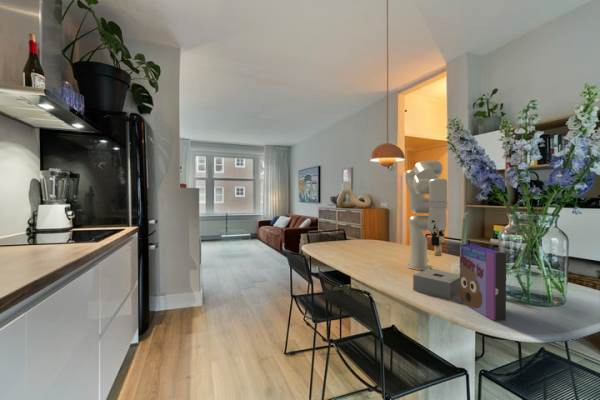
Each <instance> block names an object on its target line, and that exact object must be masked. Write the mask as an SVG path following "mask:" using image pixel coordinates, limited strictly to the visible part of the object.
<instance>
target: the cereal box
mask: <svg viewBox="0 0 600 400" xmlns="http://www.w3.org/2000/svg"><path fill="white" fill-rule="evenodd" d="M459 275H460V293H459V303H461V304H463V305H465V306H466V307H468V308H469V309H472V310H473V311H475V312H476V313H478V314H480V315H482V316H484V317H485V318H487V319H489V320H490V321H492V322H497V321H498V322H503V321H504V322H505V321H506V320H507V253H506V252H503V251H499V250H495V249H491V248H488V247H487V248H486V247H482V246H479V245H474V244H471V243H463V244H462V243H461V244H459Z"/></svg>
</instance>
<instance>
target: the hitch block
mask: <svg viewBox="0 0 600 400" xmlns="http://www.w3.org/2000/svg"><path fill="white" fill-rule="evenodd" d="M412 275H413V276H412V277H413V278H412V281H413V282H412V285H413V287H412V291H417V292H420V293H424V294H427V295H432V296H435V297H439V298H443V299H446V300H451V299H453V298H455V297H456V296H458V295H460V273H459V274H458V273H453V272H448V271H447V272H446V271H442V270H437V269H432V268H430V269H426V270H420V271H419V272H417V273H415V274H412Z"/></svg>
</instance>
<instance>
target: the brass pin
mask: <svg viewBox="0 0 600 400" xmlns="http://www.w3.org/2000/svg"><path fill="white" fill-rule="evenodd" d="M438 237H439V246H434V245H433V247H434V248H433V249H434V251H433V252H434V253H433V255H434V257H442V255H443V254H442V253H443V252H442V250H443V249H442V247H443V245H445V235H444V236H438Z"/></svg>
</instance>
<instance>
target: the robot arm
mask: <svg viewBox="0 0 600 400" xmlns="http://www.w3.org/2000/svg"><path fill="white" fill-rule="evenodd" d="M442 173H443V164H442V163H441V162H440V161H439V160H422V161H418V162H416V163H415V164H414V167H413V169H409V170H407V171H406V172H405V174H404V178H405V183H406V186H407V188H408V191H409V193H408V194H409V206H410V207H409V208H410V211H411V213H412V214H417V215H413V216H410V217H409V219H408V229H409V263H408V264H407V265H406V266H407V267H408V268H409V269H411V270H416V271H424V270H426V269H431V266H430V265H429V264H428V263H429V259H428V238H427V236H426V235H425V234H424V233H425V232H427V233H428V232H430V236H431V237H430V238H431V246H433V247H434V246H439V237H438V236H444V237H445V233H446V232H445V231H446V229H447V225H448V224H447V223H448V222H447V219H448V218H447V210H448V180H447V179H446V178H440V177H441V175H442ZM425 195H427V196H428V197H425ZM420 214H427V215H420ZM423 232H424V233H423Z"/></svg>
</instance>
